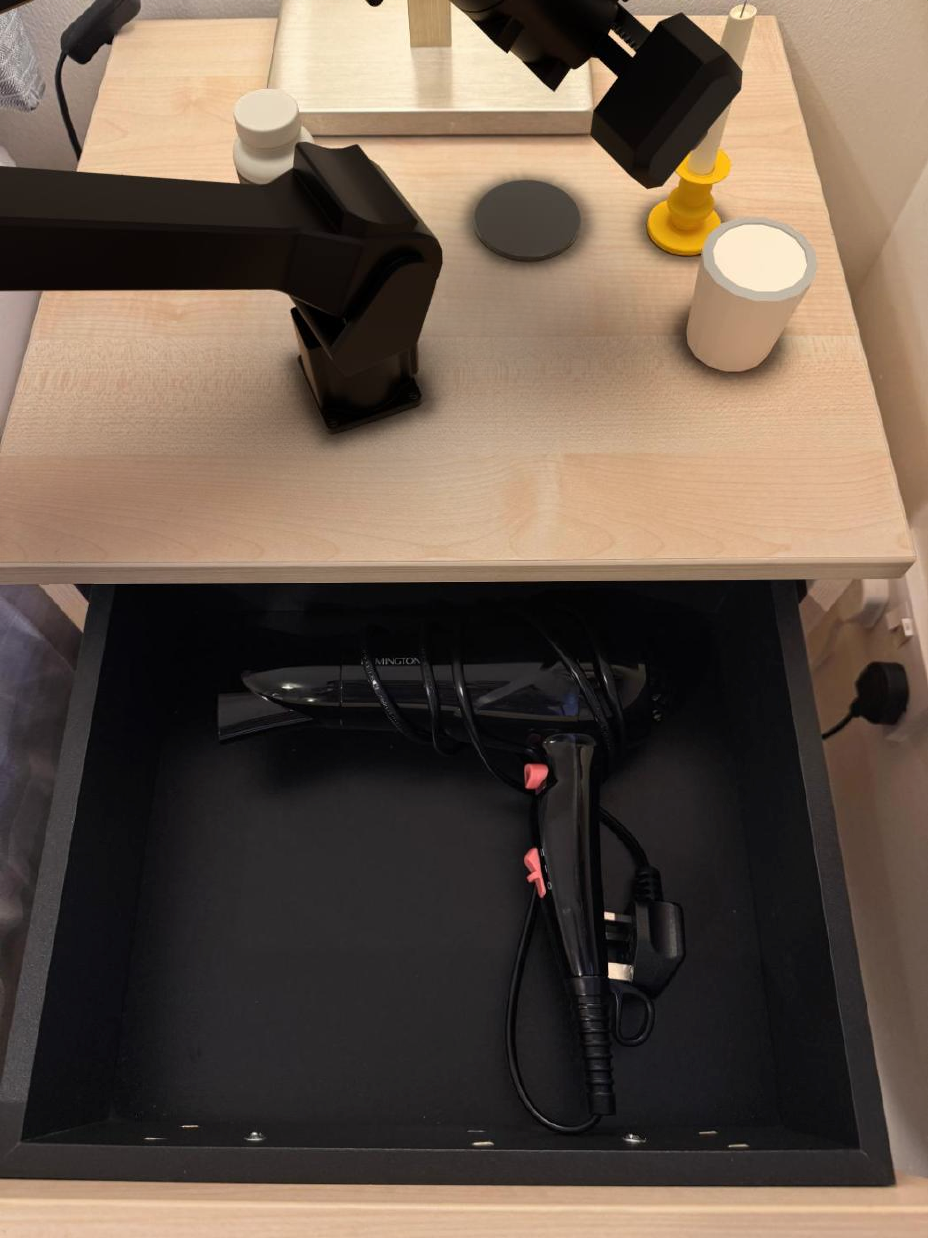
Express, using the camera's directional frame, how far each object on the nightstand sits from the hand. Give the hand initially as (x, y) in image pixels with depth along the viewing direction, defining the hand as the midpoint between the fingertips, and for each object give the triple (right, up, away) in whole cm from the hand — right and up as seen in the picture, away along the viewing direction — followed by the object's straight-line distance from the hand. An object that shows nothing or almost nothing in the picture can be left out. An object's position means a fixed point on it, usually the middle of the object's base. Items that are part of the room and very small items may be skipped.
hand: (649, 92), depth 50 cm
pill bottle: (-23, -3, +12) cm, 26 cm away
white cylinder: (+7, -11, +9) cm, 16 cm away
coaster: (-6, -2, +13) cm, 14 cm away
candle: (+5, -2, +13) cm, 14 cm away
